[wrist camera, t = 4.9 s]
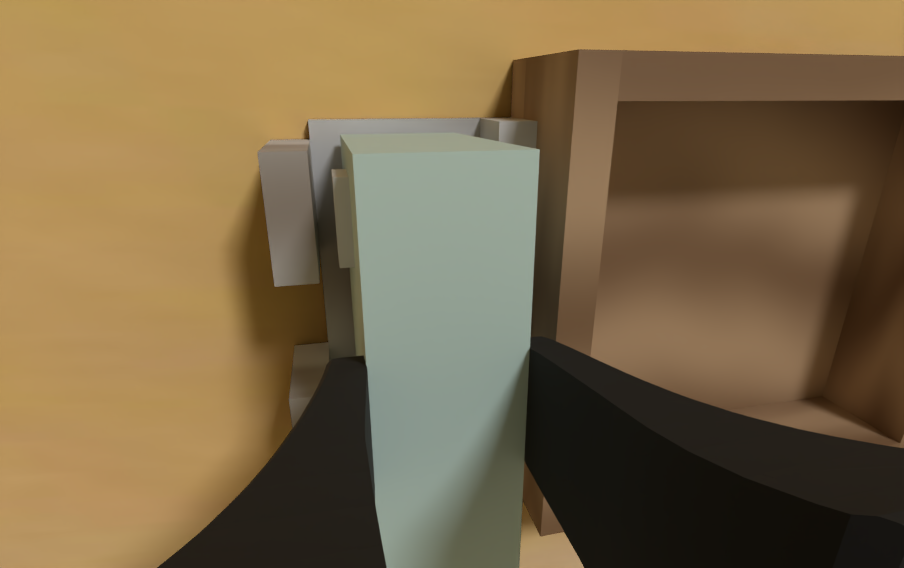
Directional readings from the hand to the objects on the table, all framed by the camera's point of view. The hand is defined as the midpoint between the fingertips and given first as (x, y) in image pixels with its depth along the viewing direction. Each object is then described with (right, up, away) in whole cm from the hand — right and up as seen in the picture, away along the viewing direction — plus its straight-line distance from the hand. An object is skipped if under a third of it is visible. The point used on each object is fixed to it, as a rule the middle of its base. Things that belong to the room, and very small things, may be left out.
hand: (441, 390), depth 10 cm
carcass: (+5, +2, +7) cm, 9 cm away
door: (-1, +2, +5) cm, 5 cm away
